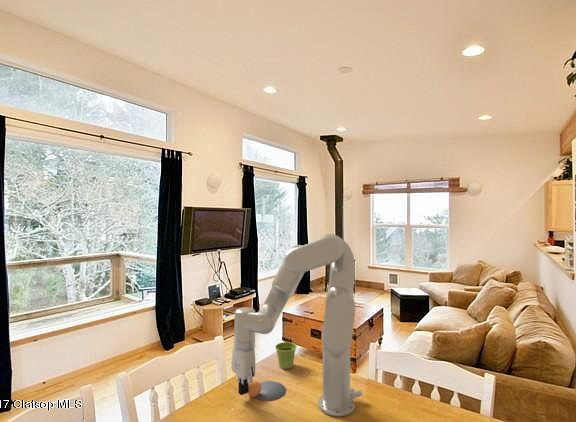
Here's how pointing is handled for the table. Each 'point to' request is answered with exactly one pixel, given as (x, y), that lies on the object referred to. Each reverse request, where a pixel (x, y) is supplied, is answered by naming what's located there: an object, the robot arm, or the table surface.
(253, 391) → the ball
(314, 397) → the table surface
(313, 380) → the table surface
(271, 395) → the disc
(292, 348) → the plant pot
